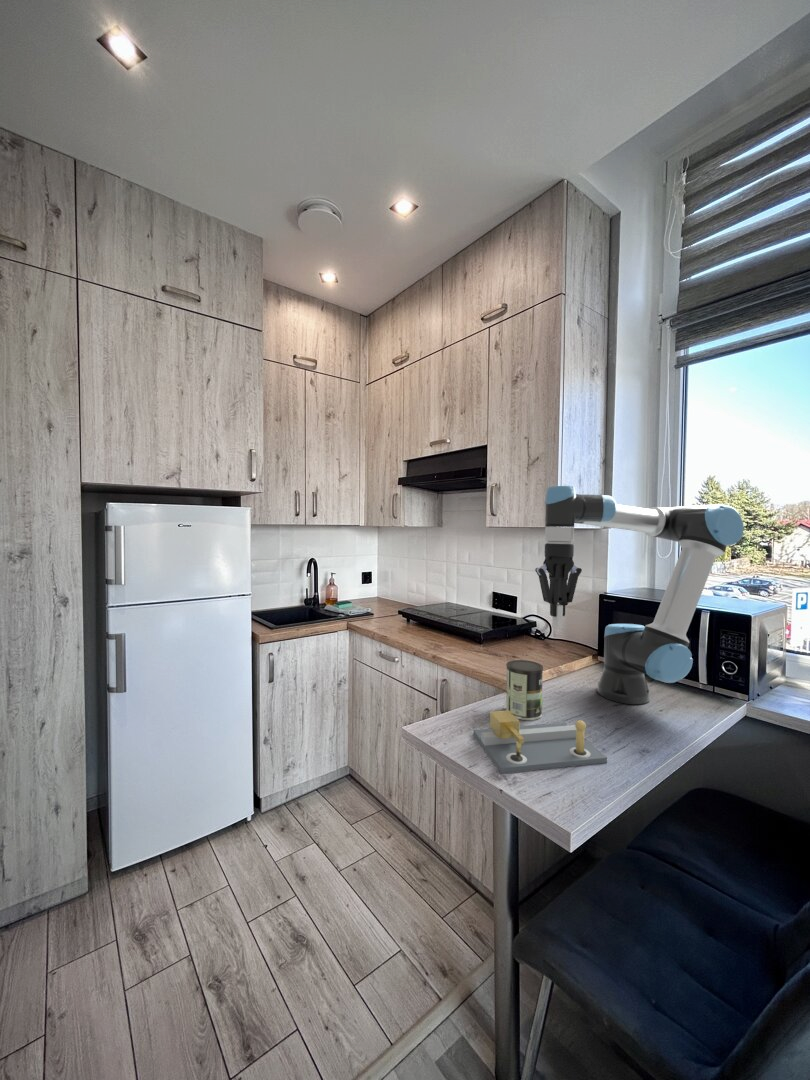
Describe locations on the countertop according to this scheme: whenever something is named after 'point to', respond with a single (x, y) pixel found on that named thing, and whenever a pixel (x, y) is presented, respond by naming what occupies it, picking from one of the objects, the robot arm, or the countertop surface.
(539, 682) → the coffee can
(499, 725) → the pointer
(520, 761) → the gauge board
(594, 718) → the countertop surface
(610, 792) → the countertop surface
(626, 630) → the robot arm
